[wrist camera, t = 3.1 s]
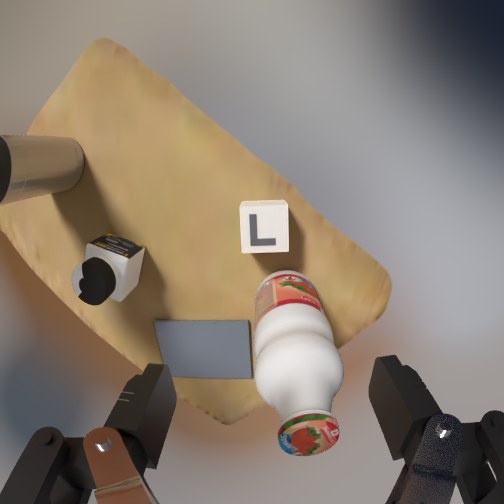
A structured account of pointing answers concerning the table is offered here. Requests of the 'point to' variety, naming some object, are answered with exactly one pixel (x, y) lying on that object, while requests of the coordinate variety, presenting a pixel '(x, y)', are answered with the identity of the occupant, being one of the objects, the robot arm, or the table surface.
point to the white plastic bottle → (296, 362)
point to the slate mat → (205, 348)
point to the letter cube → (264, 226)
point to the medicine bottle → (108, 269)
